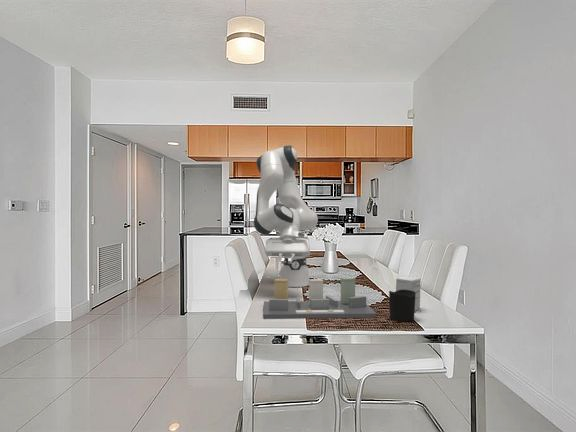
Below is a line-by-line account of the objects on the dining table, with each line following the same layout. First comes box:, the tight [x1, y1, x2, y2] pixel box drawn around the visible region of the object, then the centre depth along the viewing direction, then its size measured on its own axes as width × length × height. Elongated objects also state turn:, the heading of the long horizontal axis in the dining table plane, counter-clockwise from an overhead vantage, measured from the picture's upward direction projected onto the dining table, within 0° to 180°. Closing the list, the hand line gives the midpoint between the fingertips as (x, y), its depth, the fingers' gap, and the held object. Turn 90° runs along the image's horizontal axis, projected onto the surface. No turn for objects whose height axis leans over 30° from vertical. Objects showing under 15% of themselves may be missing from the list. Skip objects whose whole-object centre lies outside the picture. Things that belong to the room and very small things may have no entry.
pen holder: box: [388, 290, 416, 322], centre depth 160 cm, size 9×9×10 cm
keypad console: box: [263, 295, 378, 320], centre depth 171 cm, size 21×42×6 cm, turn 93°
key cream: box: [308, 278, 324, 305], centre depth 174 cm, size 3×5×10 cm, turn 99°
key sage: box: [340, 276, 357, 304], centre depth 178 cm, size 3×5×10 cm, turn 115°
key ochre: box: [273, 278, 289, 300], centre depth 174 cm, size 3×5×10 cm, turn 83°
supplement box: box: [395, 275, 422, 312], centre depth 175 cm, size 7×7×13 cm
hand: (286, 262), depth 189 cm, fingers closed
